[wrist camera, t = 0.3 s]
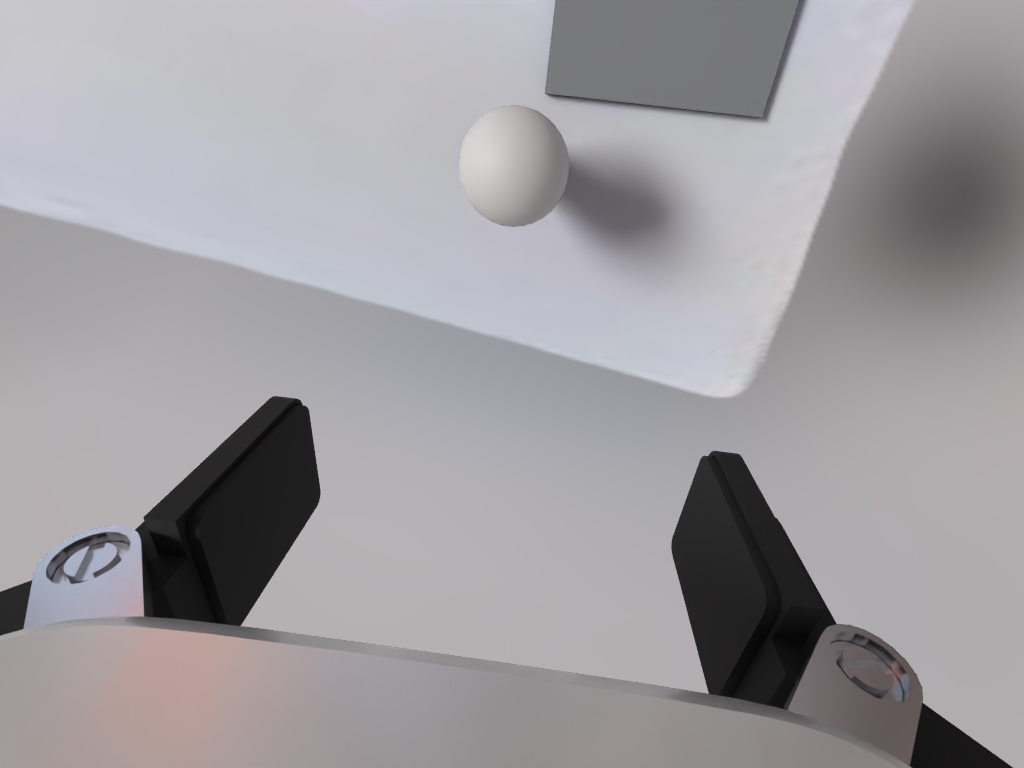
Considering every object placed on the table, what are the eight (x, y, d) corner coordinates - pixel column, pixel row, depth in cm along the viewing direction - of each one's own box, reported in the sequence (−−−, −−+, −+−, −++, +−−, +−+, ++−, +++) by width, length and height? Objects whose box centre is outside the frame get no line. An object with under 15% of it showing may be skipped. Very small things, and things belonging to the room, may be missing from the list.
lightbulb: (579, 184, 34) (586, 210, 24) (500, 217, 35) (478, 254, 26) (549, 91, 31) (544, 79, 21) (466, 131, 33) (427, 136, 23)
